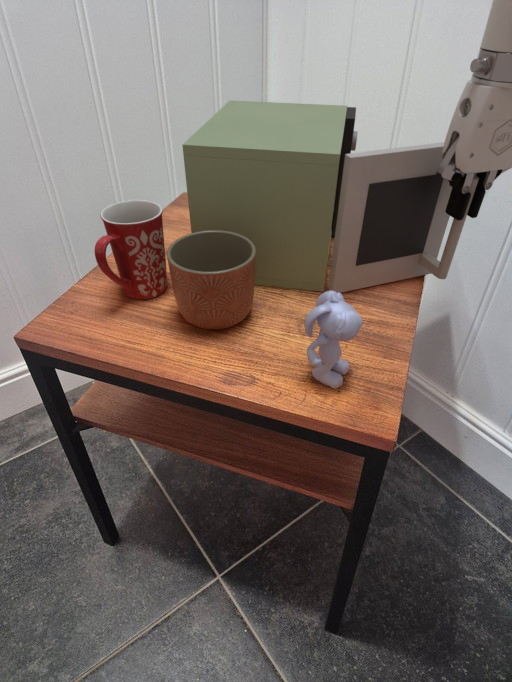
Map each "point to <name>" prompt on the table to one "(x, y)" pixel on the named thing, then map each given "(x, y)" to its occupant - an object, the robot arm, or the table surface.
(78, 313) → the table surface
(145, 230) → the mug
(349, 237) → the microwave door
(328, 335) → the toy figurine
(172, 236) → the table surface
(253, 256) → the planter
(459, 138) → the robot arm
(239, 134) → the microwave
